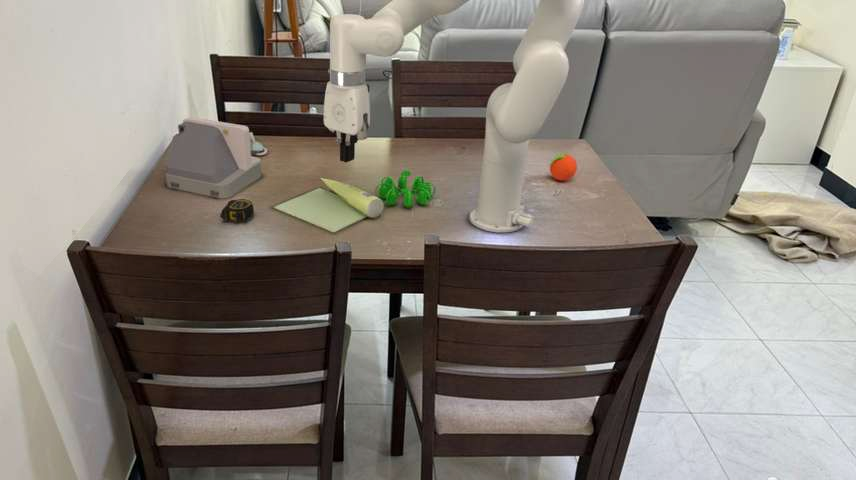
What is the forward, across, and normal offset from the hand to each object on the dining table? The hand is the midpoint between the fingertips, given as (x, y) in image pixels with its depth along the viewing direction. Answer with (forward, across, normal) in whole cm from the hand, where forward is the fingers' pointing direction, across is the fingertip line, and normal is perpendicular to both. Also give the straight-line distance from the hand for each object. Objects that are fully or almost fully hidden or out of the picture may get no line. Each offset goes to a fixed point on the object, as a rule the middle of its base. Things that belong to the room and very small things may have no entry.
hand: (347, 160), depth 151 cm
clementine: (+14, +27, +56) cm, 64 cm away
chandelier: (+14, +3, +18) cm, 23 cm away
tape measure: (+15, -19, -18) cm, 30 cm away
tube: (+12, +6, +4) cm, 14 cm away
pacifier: (+15, -49, +15) cm, 53 cm away
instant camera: (+15, -41, -7) cm, 44 cm away
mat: (+14, -7, 0) cm, 16 cm away
